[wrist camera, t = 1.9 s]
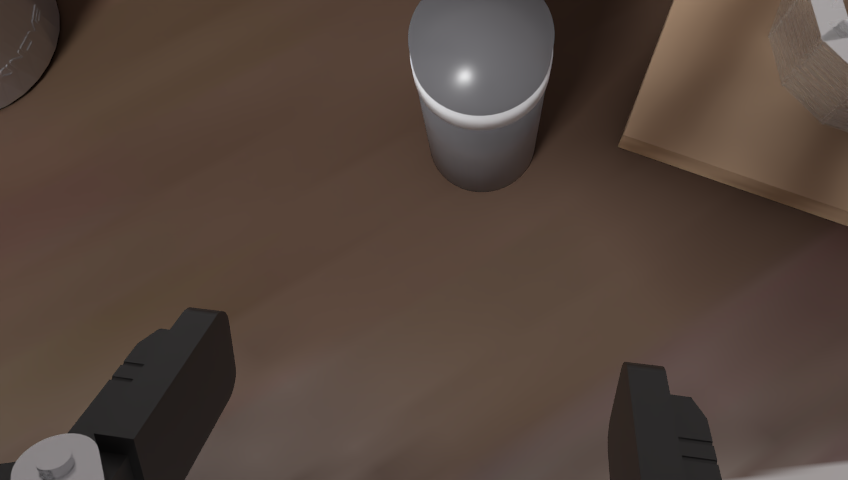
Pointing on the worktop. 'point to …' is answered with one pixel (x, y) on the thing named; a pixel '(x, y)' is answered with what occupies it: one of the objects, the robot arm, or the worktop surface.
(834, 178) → the mount board
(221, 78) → the worktop surface
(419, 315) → the worktop surface
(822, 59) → the notched white ring
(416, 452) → the worktop surface
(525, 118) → the grey cylinder
